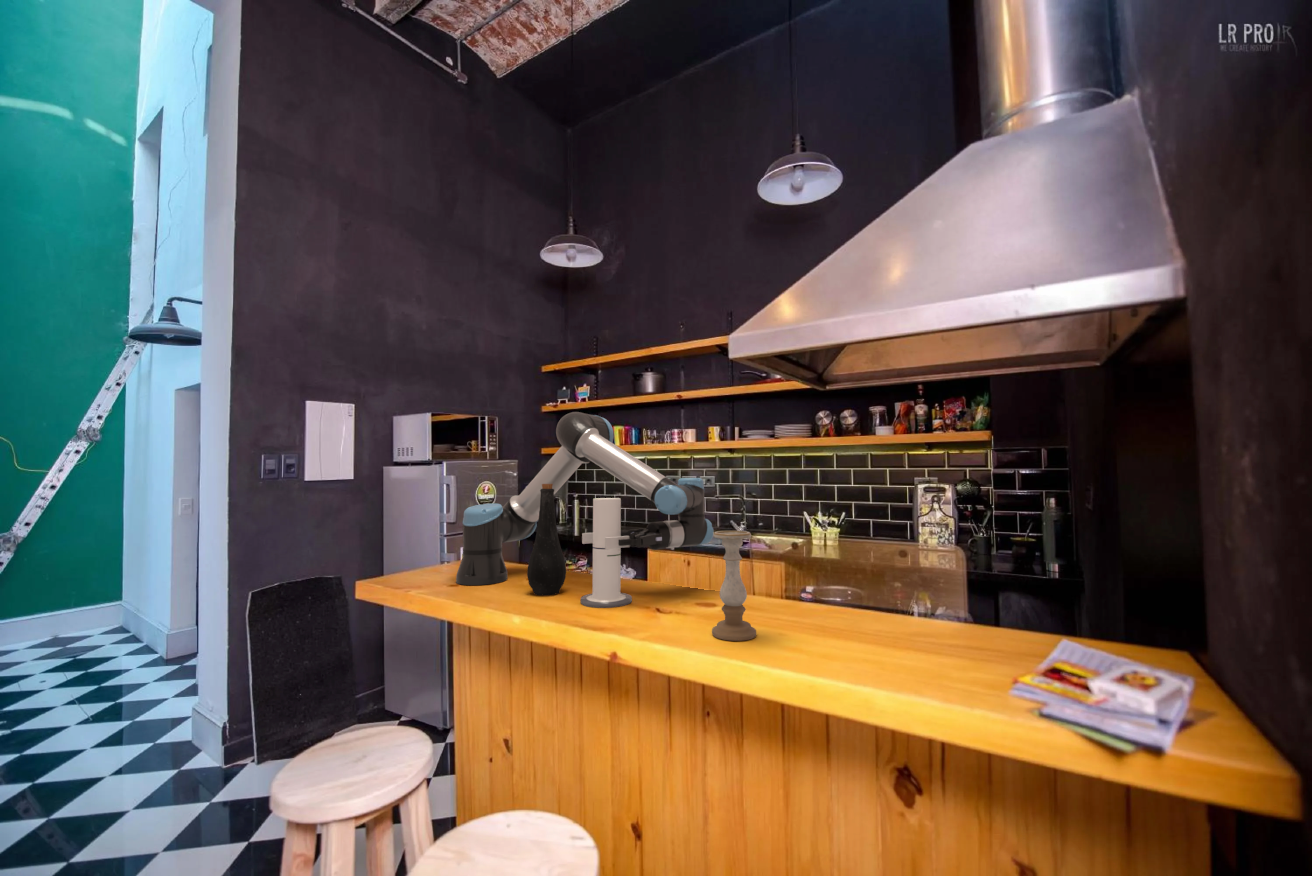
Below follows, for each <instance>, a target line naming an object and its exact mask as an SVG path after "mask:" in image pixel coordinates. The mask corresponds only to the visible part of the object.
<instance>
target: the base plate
mask: <svg viewBox="0 0 1312 876" xmlns="http://www.w3.org/2000/svg"><path fill="white" fill-rule="evenodd" d="M632 602H633V596H632V595H630V594H629V593H626V592H625V593H624V592H620V598H618V599H614V600H597V599H594V598H592V593H589V594H585V595H583V596H581V597H580V604H581V605H582V606H584V607H588V608H595V609H596V608H597V609H609V608H619V607H623V606H624V607H625V606H628V605H629V604H631V603H632Z"/></svg>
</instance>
